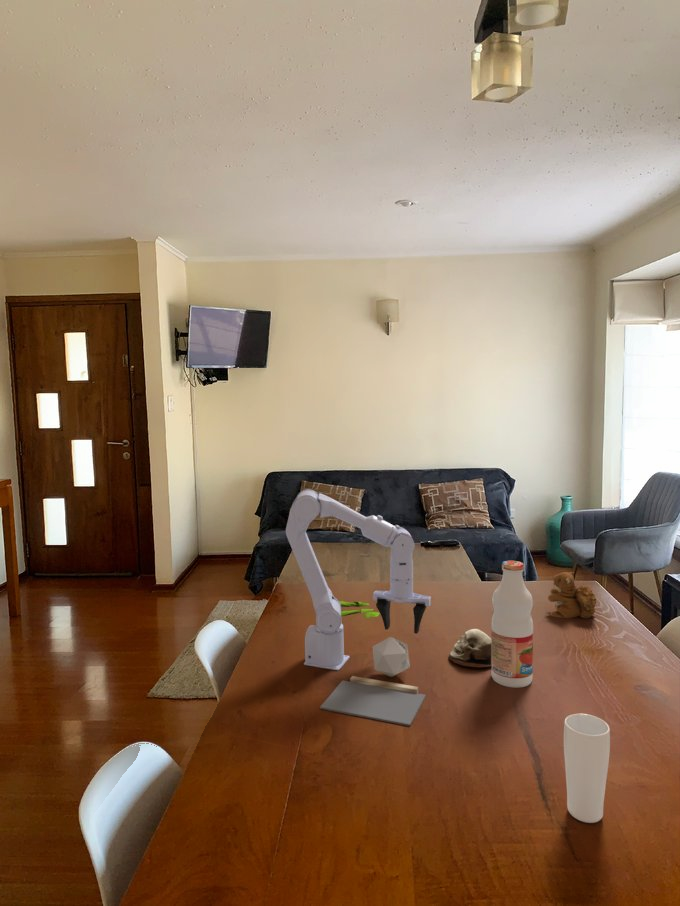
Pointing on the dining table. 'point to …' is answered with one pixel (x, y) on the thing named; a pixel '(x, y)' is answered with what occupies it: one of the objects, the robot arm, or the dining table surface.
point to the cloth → (367, 615)
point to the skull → (472, 649)
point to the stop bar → (384, 684)
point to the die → (390, 656)
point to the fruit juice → (512, 629)
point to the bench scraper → (374, 702)
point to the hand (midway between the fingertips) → (401, 630)
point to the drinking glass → (586, 765)
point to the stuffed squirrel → (571, 598)
